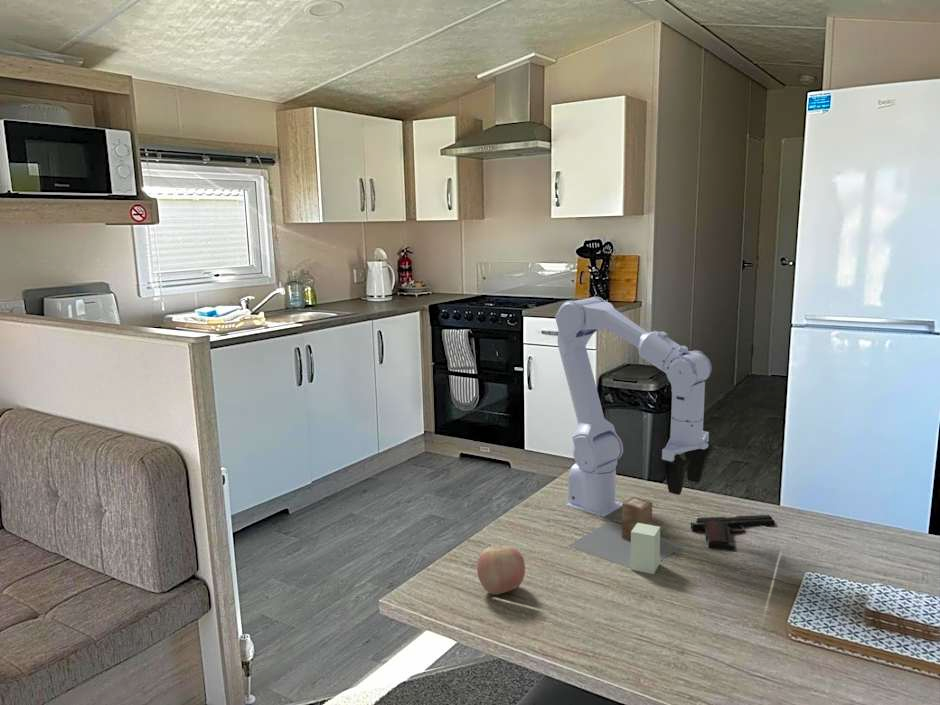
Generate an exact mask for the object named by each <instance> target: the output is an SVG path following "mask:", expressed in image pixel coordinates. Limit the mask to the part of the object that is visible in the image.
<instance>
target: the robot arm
mask: <svg viewBox="0 0 940 705" xmlns="http://www.w3.org/2000/svg"><path fill="white" fill-rule="evenodd" d="M554 319H555V322H556V326H557V348H558V351H559V355H560V359H561V363H562V366H563V370H564V373H565V374H564V375H565V378H566V381H567V385H568V390H569V393H570V397H571V401H572V404H573V408H574V413H575V416H576V420H577V425H578V426H577V428H576V430H575V431H574V433H573V435H572V441H573V450H572V454H573V459H574V462H575V463H574V464H573V465H572V466H571V468H570V469H569V473H568V479H567V480H568V483H567V484H568V502H567V503H565V504H566V507H570V508H573V509H577V510H579V511H580V510H581V511H583V512H586V513H589V514H592V515H596V516H598V517H603V518H605V517H606V516H608V515H610V514H611V513H613V512H616V511H617V510H619V509H620V508H622V503H623V502H620V501H616V500H617V499H616V498H617V496H616V493H617V491H616V490H617V489H616V486H617V485H616V484H617V483H616V479H617V478H616V476H617V471H616V470H617V468H616V466H617V465H618V460H619V459H620V458H621V457H622V455H623V453H624V444H623V441H622V439H621V438H620V437H619V435H618V433H617V432H616V429H615V425H614V424H613V423H611V422H610V421H609V420H607V419H606V418H605V416H604V415H605V414H604V411H603V408H602V404H601V400H600V397H599V396H600V395H599V392H598V389H597V386H596V381H595V377H594V373H593V368H592V365H591V362H590V357H589V354H588V350H587V344H588V343H589V341H590V339H591V338H592V336H593V335H594V334H596V332H598V331H599V330H607V332H610V333H611V334H614V335H615V336H617V337H618V338H620V339H622V340H623V341H626V342H627V343H628V344H631V345H633V346H635V347H637V352H638V355H639V357H641V358H642V359H643V360H645V361H646V362H648V363H649V364H651V365H653V366H655V368H657V369H659V370H660V371H662V372H663V373H665V374H666V379H667V380H668V382H669V383H670V386H671V411H670V412H671V414H670V416H671V417H670V418H671V419H670V438H669V439H668V442H667V443H666V445H665V447H664V448H663V449H661V453H660V454H658V455H657V463H659V465H660V467H661V469H662V471H663V473H664V477H665V481H666V485H667V489H668V493H670V494H674V495H677V496H679V495H681V494H682V491H683V486H684V480H685V475H687V480H688V481H690V482H694V483H697V484H698V483H700V482H701V479H702V476H703V472H704V470H705V467H706V464H707V461H708V459H709V458H710V455H711V454H712V452H713V450H714V446H713V445H711V444H709V443H708V442H709V440H710V439H709V438H710V435H709V433H710V432H709V431H705V430H704V416H705V414H704V413H705V396H706V395H705V393H706V392H705V391H706V389H705V388H706V380H707V379H709V377H710V375H711V373H712V363H711V360H710V359H709V358H708V357H707V356H706V354H704V353H703V352H702V351H701V350H691V351H690V350H688V349H689V348H688V347H687V346H686V345H681V344H678V343H677V342H676V341H673V340H672V339H671V338H670V337H668V333H667V332H665V331H658V330H653V331H650V332H648V331H646V330H645V329H644V328H642V327H640V326H639V324H636V323H635V322H634V321H632V320H631V319H630V318H628V317H627V316H626V315H624V314H623V313H621V312H620V311H618V310H617V308H615V307H614V305H613V304H612V303H611V302H608V301H605V300H604V299H603V298H602V297H599V296H591V297H589V298H583V299H577V300H567V301H565V302H563V303H562V304H561V305H560V307H559V309H558V310H557V312H556V313H555V316H554ZM682 454H684V457H685V459H683V458H682V457H681V455H682Z"/></svg>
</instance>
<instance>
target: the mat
mask: <svg viewBox="0 0 940 705" xmlns="http://www.w3.org/2000/svg"><path fill="white" fill-rule="evenodd" d="M683 546H684V544H683V543H680V542H677V541H674V540H670V539H668V538H665V537H661V536H660V562H661V561H663V560H665V559H666V558H667V557H669V556H670V555H672V554H673V553H675V551H677V550H678V549H680V548H681V547H683ZM567 547H570V548H573V549H575V550H578V551H581V552H584V553H587V554H590V555H593V556H595V557H598V558H601V559H603V560H606V561H610V562H611V563H615V564H616V565H620V566H623V567H626V568H629V569H630V566H631V541H629V540H626V539H623V538H622V524H620V523H616V522H613V521H607V522H606V523H604V524H602V525H600V526H599V527H597V528H596V529H593V530H592V531H590V532H588V533H586V534H585V535H583V536H582V537H580V538H579V539H576V540H575V541H573V542H571V543H569V544H568V545H567ZM638 572H639V573H642V574H646V573H645V572H640V571H638Z"/></svg>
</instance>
